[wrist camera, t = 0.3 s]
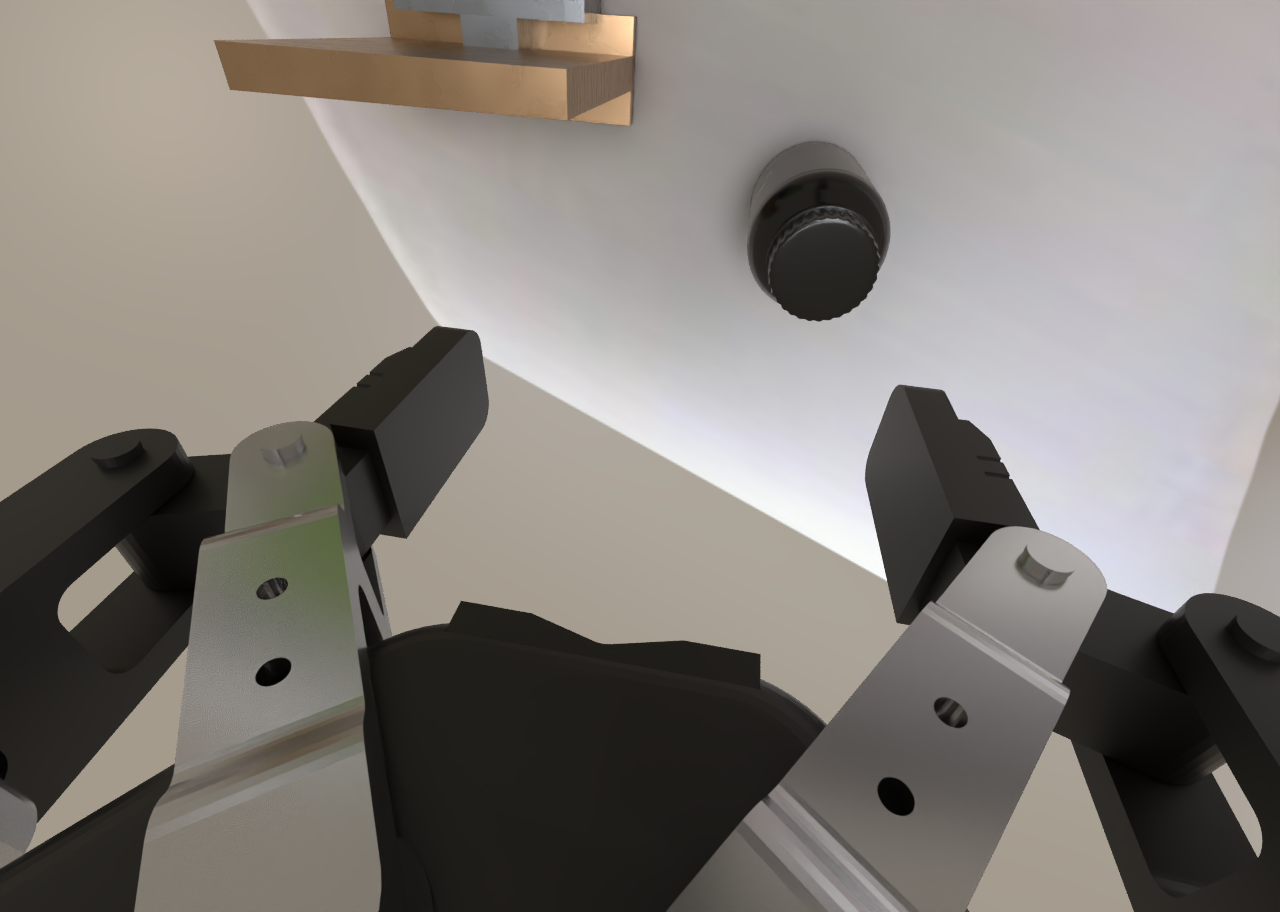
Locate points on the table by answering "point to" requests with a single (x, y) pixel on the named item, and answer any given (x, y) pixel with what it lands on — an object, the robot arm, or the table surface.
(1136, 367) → the table surface
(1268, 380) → the table surface
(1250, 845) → the robot arm
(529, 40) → the bracket
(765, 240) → the supplement bottle
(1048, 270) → the table surface
